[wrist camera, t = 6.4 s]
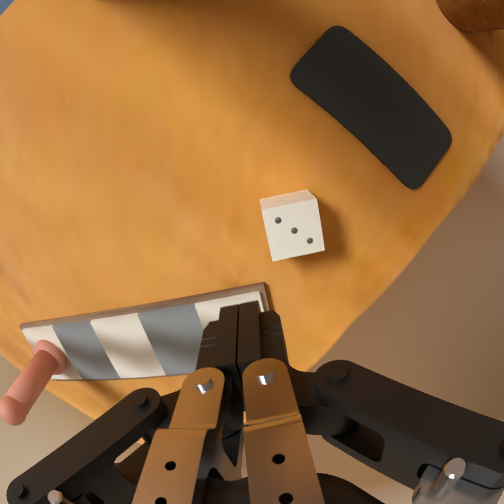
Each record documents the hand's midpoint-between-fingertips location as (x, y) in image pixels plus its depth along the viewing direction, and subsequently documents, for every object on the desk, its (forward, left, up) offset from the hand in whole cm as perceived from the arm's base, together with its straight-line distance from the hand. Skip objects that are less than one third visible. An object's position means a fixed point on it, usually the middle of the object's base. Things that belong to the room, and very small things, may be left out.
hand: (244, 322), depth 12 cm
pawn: (+10, -27, -14) cm, 32 cm away
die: (0, +3, -15) cm, 15 cm away
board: (+10, -15, -15) cm, 24 cm away
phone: (-8, +13, -15) cm, 22 cm away
